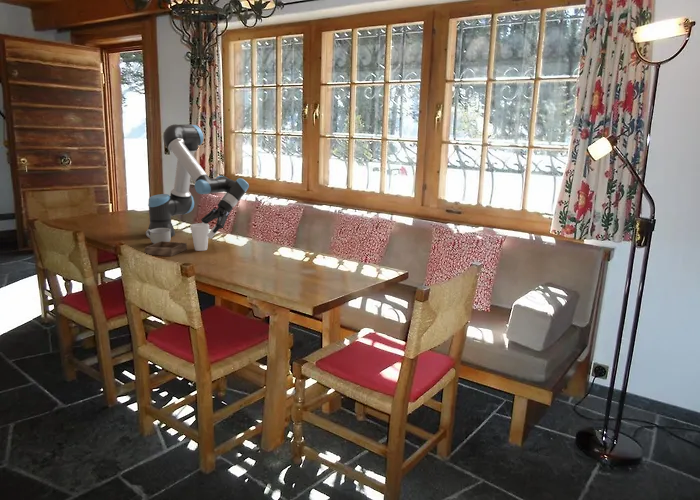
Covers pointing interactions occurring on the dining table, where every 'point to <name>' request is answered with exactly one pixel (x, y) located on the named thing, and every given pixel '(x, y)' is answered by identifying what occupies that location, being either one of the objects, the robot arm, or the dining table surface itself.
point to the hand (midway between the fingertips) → (202, 235)
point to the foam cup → (200, 236)
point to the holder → (165, 248)
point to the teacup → (159, 235)
